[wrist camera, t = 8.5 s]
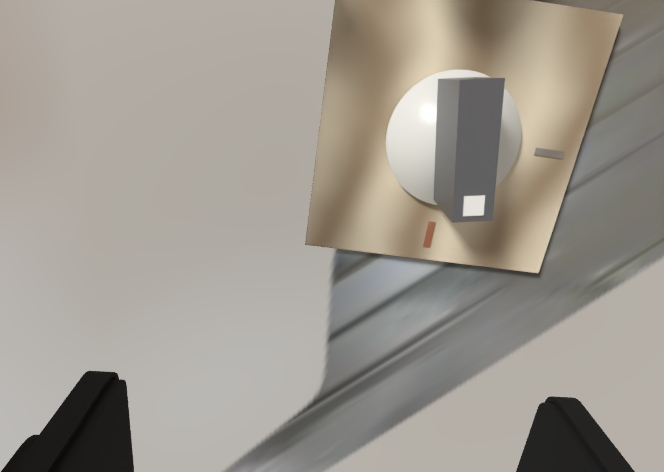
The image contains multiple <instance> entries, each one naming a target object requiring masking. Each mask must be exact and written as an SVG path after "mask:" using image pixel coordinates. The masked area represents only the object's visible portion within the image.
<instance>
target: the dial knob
mask: <svg viewBox="0 0 664 472" xmlns="http://www.w3.org/2000/svg"><path fill="white" fill-rule="evenodd" d="M504 84H505V78H491V77H489V76H487V75H485V74H483V73H480V72H476V71H471V70H447V71H442V72H438V73H435V74H433V75H430V76H428V77H426V78H424V79H422V80H421V81H419V82H418V83H416V84H415V85H414V86H412V87H411V88H410V89H409V90H408V91H407V92H406V93H405V94H404V95H403V97H402V98H401V99H400V100H399V102H398V103H397V105H396V106H395V108H394V110H393V112H392V114H391V116H390V119H389V122H388V125H387V131H386V139H385V146H386V155H387V160H388V163H389V166H390V168H391V170H392V172H393V174H394V176H395V177H396V179H397V180H398V182H399V183H400V184H401V186H402V187H403V188H404V189H405V190H406V191H408V192H409V193H410V194H411V195H413V196H414V197H416V198H418V199H420V200H422V201H424V202H427V203H430V204H434V205H438V206H439V207H440V208H441V210H442V211H443V212H444V213H445V214H446V216H447V217H448V218H449V219H450V221H451V222H452V223H455V222H478V221H493V211H494V200H495V188H496V186H497V185H498V184H499V183H500V182H501V181H502V180H503V179H504V178H505V176H506V175H507V174H508V172H509V171H510V169H511V167H512V166H513V164H514V161H515V159H516V157H517V154H518V151H519V147H520V142H521V120H520V116H519V112H518V109H517V106H516V104H515V102H514V100H513V98H512V97H511V95H510V94H509V93H508V91H507V90H506V89H505V88H504Z"/></svg>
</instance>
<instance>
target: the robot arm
mask: <svg viewBox="0 0 664 472" xmlns="http://www.w3.org/2000/svg"><path fill="white" fill-rule="evenodd" d="M1 472H134V466H133V455H132V443H131V431H130V421H129V409H128V397H127V386H126V382H125V380H119V378H118V375H117V373H115V372H100V371H88V372H86V373H85V374H84V375H83V376H82V378H81V379H80V381H79V382H78V383H77V384H76V386H75V387H74V388H73V390H72V391H71V392H70V394H69V395H68V397H67V398H66V399H65V401H64V402H63V403H62V405H61V406H60V407H59V409H58V410H57V411H56V413H55V414H54V416H53V417H52V418H51V420H50V421H49V422H48V424H47V425H46V426H45V428H44V429H43V431H42V432H41V433H40V435H33V436H31V437H29V438H28V439H27V440H26V441H25V442H24V443H23V444H22V445H21V446H20V447H19V449H18V450H17V451H16V453H15V454H14V455H13V457H12V458H11V459H10V461H9V462H8V463H7V465H6V466H5V467H4V468H3V470H2V471H1ZM516 472H634V470H633V469H632V468H631V467H630V465H629V464H628V463H627V461H626V460H625V459H624V457H623V456H622V455H621V453H620V452H619V451H618V450H617V448H616V447H615V446H614V444H613V443H612V442H611V441H610V439H609V438H608V437H607V435H606V434H605V433H604V432H603V430H602V429H601V428H600V426H599V425H598V424H597V423H596V422H595V420H594V419H593V418H592V416H591V415H590V414H589V412H588V411H587V410H586V408H585V407H584V406H583V405H582V404H581V402H580V401H579V400H578V399H576V398H568V397H548V398H547V399H546V401H545V403H541V404H540V405H539V407H538V409H537V413H536V415H535V418H534V421H533V424H532V427H531V430H530V433H529V436H528V439H527V441H526V445H525V447H524V450H523V453H522V456H521V459H520V462H519V465H518V468H517V471H516Z"/></svg>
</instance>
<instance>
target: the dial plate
mask: <svg viewBox="0 0 664 472" xmlns="http://www.w3.org/2000/svg"><path fill="white" fill-rule="evenodd" d="M622 17H623V15H622V14H616V13H609V12H603V11H596V10H590V9H584V8H577V7H571V6H565V5H558V4H552V3H545V2H539V1H533V0H335V6H334V15H333V23H332V31H331V39H330V48H329V55H328V63H327V71H326V79H325V88H324V96H323V105H322V112H321V120H320V129H319V137H318V145H317V153H316V161H315V170H314V177H313V185H312V194H311V202H310V210H309V218H308V227H307V234H306V243H305V245H313V246H321V247H329V248H337V249H345V250H353V251H362V252H370V253H378V254H386V255H394V256H402V257H410V258H418V259H427V260H435V261H443V262H451V263H459V264H467V265H475V266H484V267H492V268H500V269H508V270H516V271H524V272H532V273H539V270H540V267H541V264H542V261H543V258H544V255H545V252H546V249H547V246H548V243H549V240H550V237H551V234H552V231H553V228H554V225H555V222H556V219H557V215H558V212H559V209H560V206H561V203H562V200H563V197H564V194H565V191H566V188H567V185H568V182H569V179H570V176H571V173H572V170H573V167H574V164H575V161H576V158H577V154H578V151H579V148H580V145H581V142H582V139H583V136H584V133H585V130H586V127H587V124H588V121H589V118H590V115H591V112H592V109H593V106H594V103H595V100H596V97H597V93H598V90H599V87H600V84H601V81H602V78H603V75H604V72H605V69H606V66H607V63H608V60H609V57H610V54H611V51H612V48H613V45H614V42H615V39H616V36H617V32H618V29H619V26H620V23H621V20H622ZM447 70H471V71H476V72H480V73H483V74H485V75H487V76H489V77H491V78H505V84H504V88H505V89H506V90H507V91H508V93H509V94H510V95H511V97H512V98H513V100H514V102H515V104H516V106H517V109H518V112H519V116H520V120H521V142H520V147H519V151H518V154H517V157H516V159H515V161H514V164H513V166H512V167H511V169H510V171H509V172H508V174H507V175H506V176H505V178H504V179H503V180H502V181H501V182H500V183H499V184H498V185H497V186H496V188H495V200H494V211H493V221H478V222H455V223H452V222H451V221H450V219H449V218H448V217H447V216H446V214H445V213H444V212H443V211H442V210H441V208H440V207H439V206H438V205H434V204H430V203H427V202H424V201H422V200H420V199H418V198H416V197H414V196H413V195H411V194H410V193H409V192H408V191H406V190H405V189H404V188H403V187H402V186H401V184H400V183H399V182H398V180H397V179H396V177H395V176H394V174H393V172H392V170H391V168H390V166H389V163H388V160H387V155H386V146H385V139H386V131H387V125H388V122H389V119H390V116H391V114H392V112H393V110H394V108H395V106H396V105H397V103H398V102H399V100H400V99H401V98H402V97H403V95H404V94H405V93H406V92H407V91H408V90H409V89H410V88H411V87H412V86H414V85H415V84H416V83H418V82H419V81H421V80H422V79H424V78H426V77H428V76H430V75H433V74H435V73H438V72H442V71H447Z"/></svg>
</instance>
